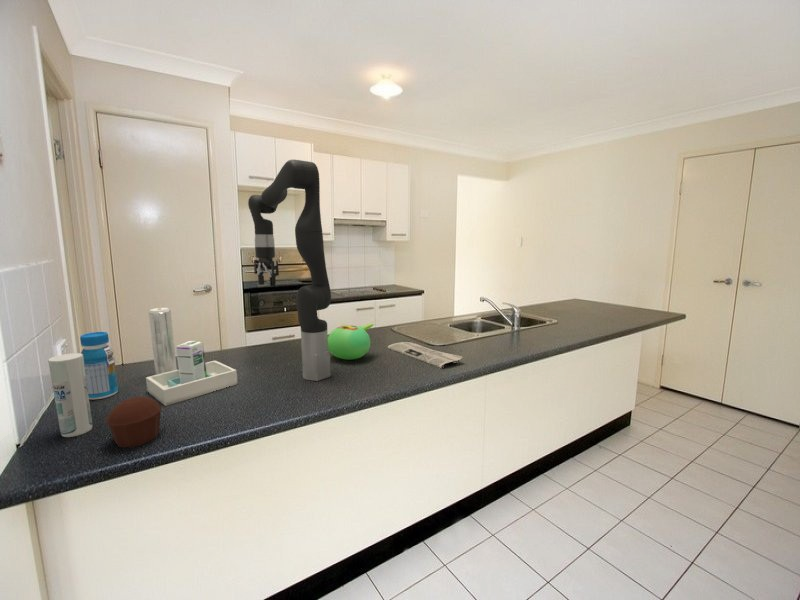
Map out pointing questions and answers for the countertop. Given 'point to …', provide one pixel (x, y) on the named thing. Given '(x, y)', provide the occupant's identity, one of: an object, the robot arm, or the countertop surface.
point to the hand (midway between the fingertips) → (267, 285)
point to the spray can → (71, 394)
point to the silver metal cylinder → (162, 340)
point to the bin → (190, 383)
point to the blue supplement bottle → (99, 365)
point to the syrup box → (191, 361)
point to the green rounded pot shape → (349, 341)
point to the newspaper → (424, 353)
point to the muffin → (134, 421)
